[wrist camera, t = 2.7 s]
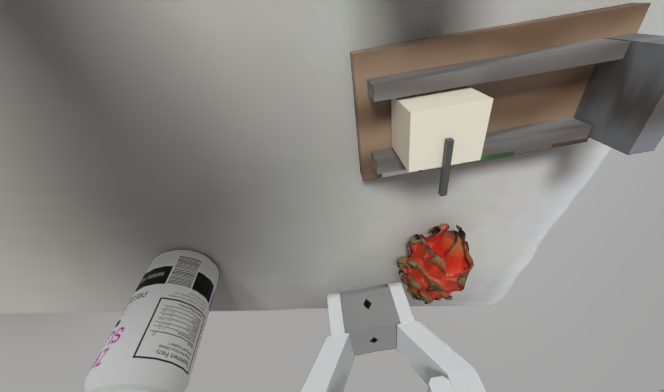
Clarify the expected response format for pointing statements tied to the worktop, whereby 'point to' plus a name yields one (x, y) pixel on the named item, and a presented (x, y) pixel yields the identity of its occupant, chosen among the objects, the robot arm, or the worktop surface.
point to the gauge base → (524, 84)
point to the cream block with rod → (440, 129)
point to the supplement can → (159, 328)
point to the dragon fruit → (436, 264)
